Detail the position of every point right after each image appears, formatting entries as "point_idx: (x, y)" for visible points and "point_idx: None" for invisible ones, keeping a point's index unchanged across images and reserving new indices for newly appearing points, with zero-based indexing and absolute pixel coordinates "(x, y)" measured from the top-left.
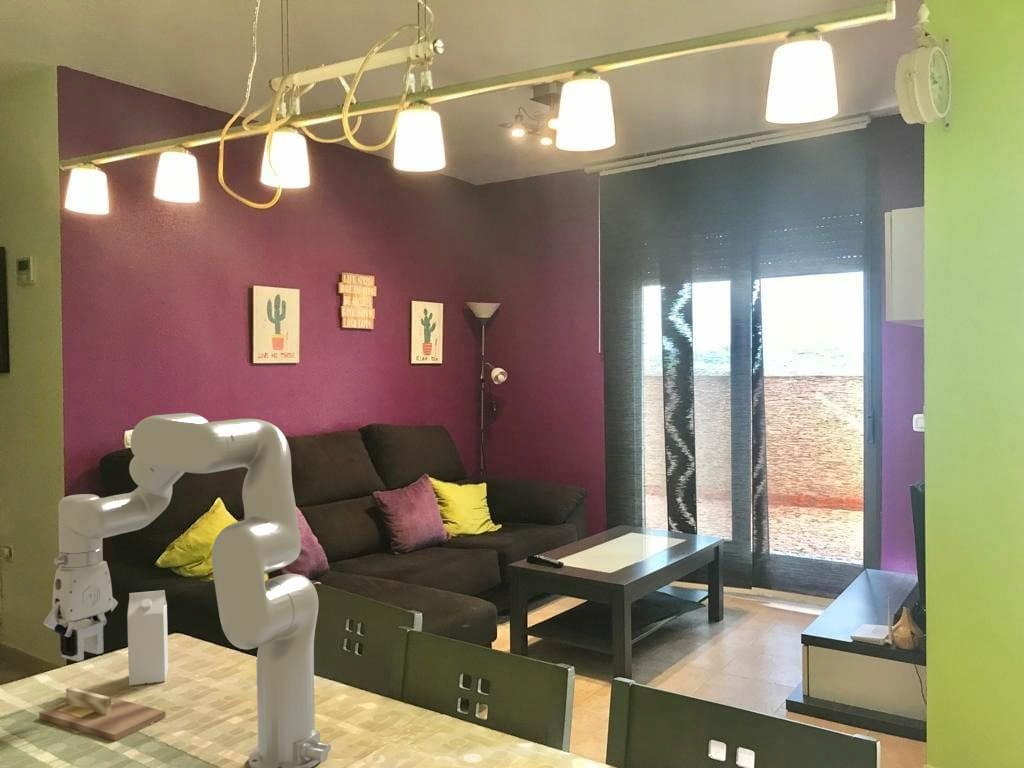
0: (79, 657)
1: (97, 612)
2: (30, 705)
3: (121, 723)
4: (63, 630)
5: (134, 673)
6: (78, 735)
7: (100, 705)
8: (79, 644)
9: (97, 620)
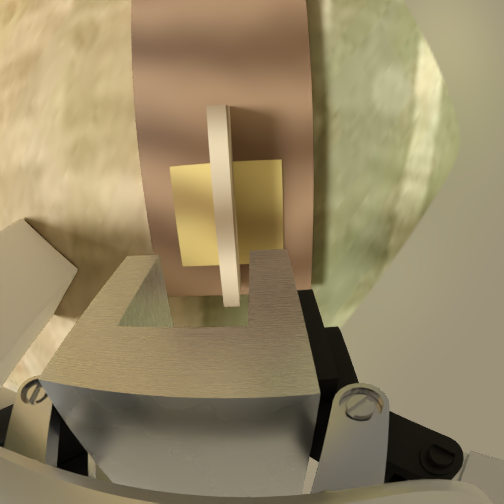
0: (278, 258)
1: (34, 486)
2: None
3: (247, 16)
4: (395, 439)
5: (54, 275)
6: (328, 95)
7: (229, 135)
8: (285, 302)
9: (66, 436)
